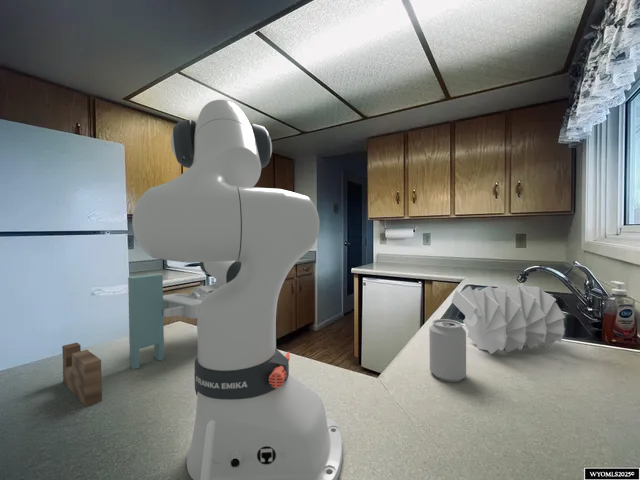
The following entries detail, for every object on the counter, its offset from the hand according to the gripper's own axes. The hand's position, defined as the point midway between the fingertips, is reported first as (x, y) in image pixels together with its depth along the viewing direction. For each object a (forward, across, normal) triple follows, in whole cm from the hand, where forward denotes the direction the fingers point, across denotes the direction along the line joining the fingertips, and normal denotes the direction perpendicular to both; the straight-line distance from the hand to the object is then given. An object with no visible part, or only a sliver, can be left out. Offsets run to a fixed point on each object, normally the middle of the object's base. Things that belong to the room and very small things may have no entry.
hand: (154, 310), depth 74 cm
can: (-35, +63, +13) cm, 73 cm away
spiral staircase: (-62, +73, +13) cm, 96 cm away
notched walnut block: (+16, +3, +13) cm, 21 cm away
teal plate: (+2, 0, +13) cm, 13 cm away
